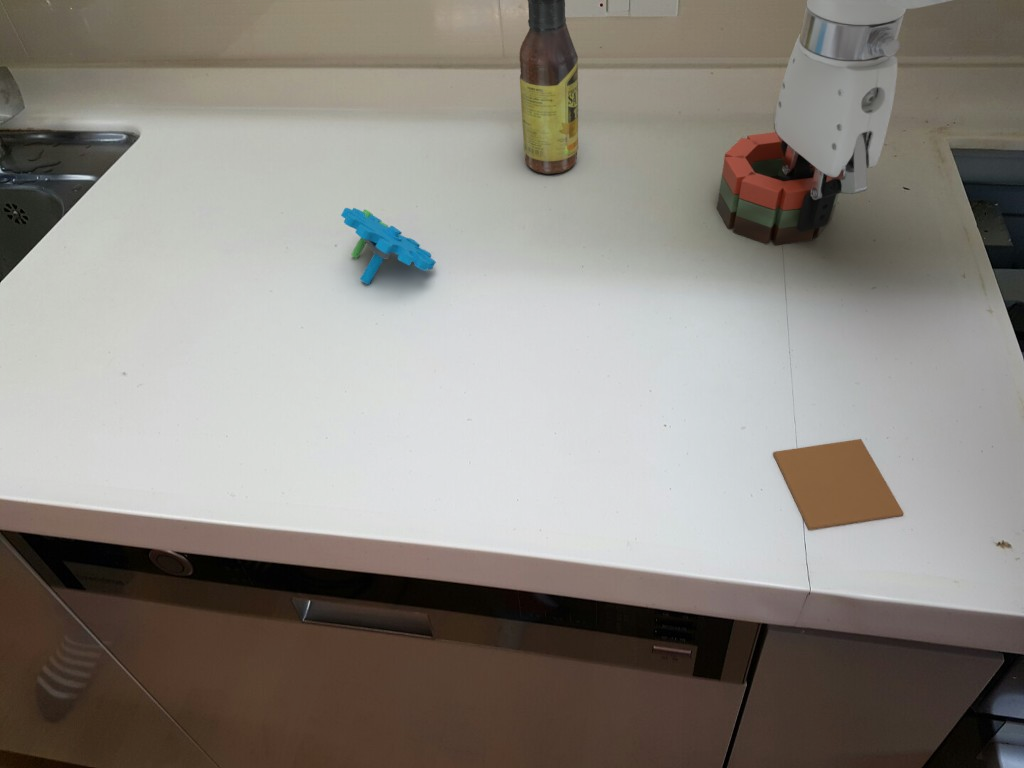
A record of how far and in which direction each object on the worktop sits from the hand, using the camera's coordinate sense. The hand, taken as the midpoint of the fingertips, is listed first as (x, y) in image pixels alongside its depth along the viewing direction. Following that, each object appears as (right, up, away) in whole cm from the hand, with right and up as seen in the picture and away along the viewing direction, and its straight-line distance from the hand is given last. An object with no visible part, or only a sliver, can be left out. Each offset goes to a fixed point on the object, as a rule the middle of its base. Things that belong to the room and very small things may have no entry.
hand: (802, 216), depth 78 cm
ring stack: (-1, +2, +5) cm, 5 cm away
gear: (-41, -5, +2) cm, 41 cm away
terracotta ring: (-2, +4, +2) cm, 5 cm away
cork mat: (-5, -24, -19) cm, 31 cm away
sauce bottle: (-24, +9, +14) cm, 29 cm away
